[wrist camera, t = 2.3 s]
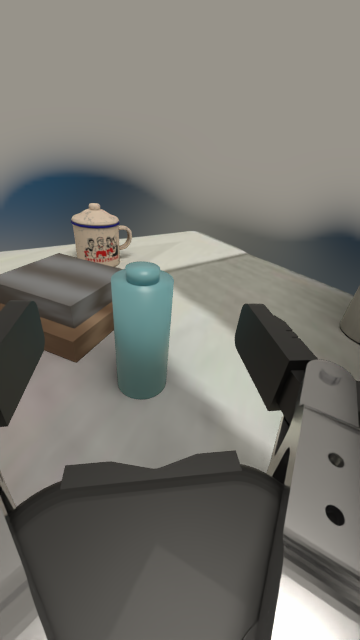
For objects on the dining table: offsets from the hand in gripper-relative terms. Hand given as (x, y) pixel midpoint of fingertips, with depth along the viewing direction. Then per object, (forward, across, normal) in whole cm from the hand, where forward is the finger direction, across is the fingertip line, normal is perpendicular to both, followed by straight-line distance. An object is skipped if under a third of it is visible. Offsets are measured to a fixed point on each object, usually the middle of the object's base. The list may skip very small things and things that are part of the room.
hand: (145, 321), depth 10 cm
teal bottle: (+12, 0, +15) cm, 19 cm away
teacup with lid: (+47, +7, +15) cm, 50 cm away
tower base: (+26, +10, +15) cm, 31 cm away
